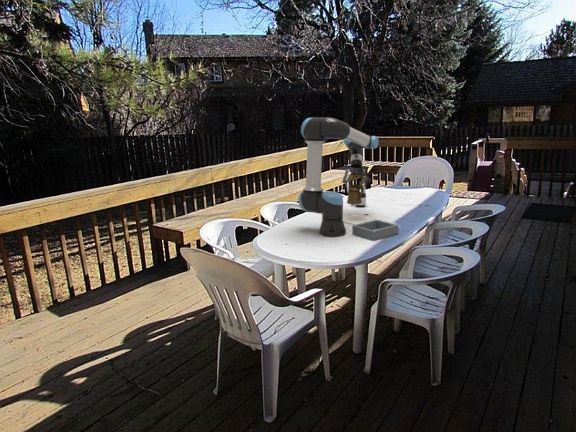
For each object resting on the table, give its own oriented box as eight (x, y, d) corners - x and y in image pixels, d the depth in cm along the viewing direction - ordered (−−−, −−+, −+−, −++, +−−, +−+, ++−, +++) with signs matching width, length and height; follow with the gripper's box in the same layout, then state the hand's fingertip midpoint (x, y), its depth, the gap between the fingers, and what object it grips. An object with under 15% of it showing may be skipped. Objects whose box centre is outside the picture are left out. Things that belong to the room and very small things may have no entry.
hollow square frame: (373, 240, 229) (373, 231, 228) (352, 234, 242) (352, 225, 240) (398, 233, 240) (398, 225, 239) (376, 227, 253) (377, 219, 252)
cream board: (355, 225, 259) (355, 224, 259) (335, 219, 273) (335, 218, 273) (375, 220, 269) (375, 219, 269) (355, 215, 283) (355, 214, 283)
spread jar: (365, 207, 303) (366, 191, 300) (349, 207, 305) (349, 191, 302) (365, 204, 315) (366, 188, 312) (350, 203, 317) (350, 188, 314)
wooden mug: (362, 206, 260) (362, 176, 256) (344, 203, 269) (343, 175, 265) (370, 203, 267) (370, 174, 262) (352, 200, 276) (351, 173, 271)
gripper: (373, 166, 276) (374, 195, 265) (339, 166, 280) (338, 195, 269) (374, 158, 270) (374, 188, 259) (339, 159, 273) (337, 188, 262)
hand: (356, 191), depth 264 cm, fingers closed on wooden mug, 9 cm apart
